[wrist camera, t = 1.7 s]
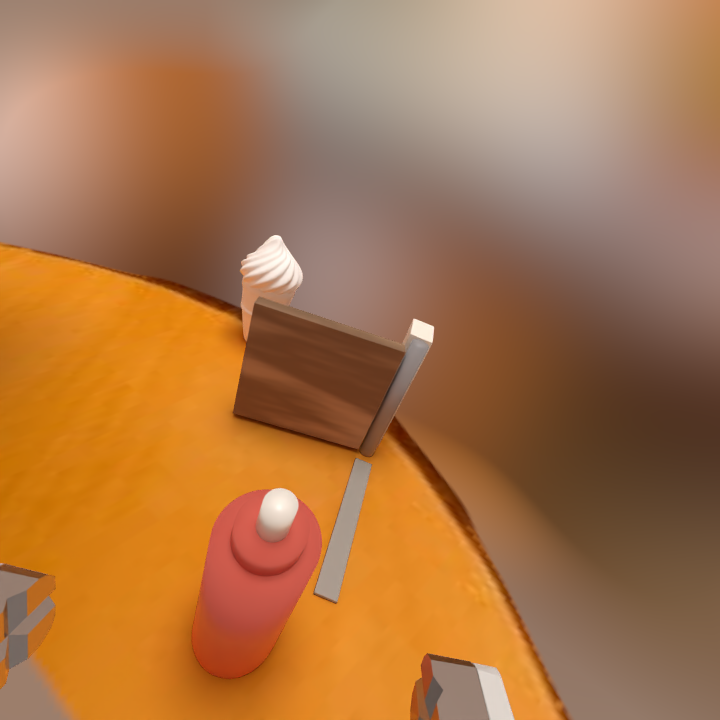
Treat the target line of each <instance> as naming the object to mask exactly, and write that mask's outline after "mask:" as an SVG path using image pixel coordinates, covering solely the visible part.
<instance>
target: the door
mask: <svg viewBox="0 0 720 720" xmlns="http://www.w3.org/2000/svg"><path fill="white" fill-rule="evenodd" d="M404 355H405V345H404V344H401V343H398V342H395V341H392V340H389V339H386V338H383V337H380V336H377V335H374V334H371V333H368V332H365V331H362V330H359V329H356V328H353V327H350V326H347V325H344V324H341V323H338V322H335V321H332V320H329V319H326V318H322V317H320V316H317V315H313V314H311V313H307V312H304V311H302V310H299V309H296V308H293V307H290V306H287V305H284V304H281V303H278V302H275V301H272V300H269V299H266V298H263V297H260V296H259V297H258V298H257V300H256V301H255V302H254V307H253V312H252V317H251V322H250V327H249V333H248V338H247V343H246V348H245V353H244V358H243V364H242V369H241V374H240V379H239V384H238V390H237V395H236V400H235V405H234V410H233V413H234V414H237V415H241V416H244V417H248V418H251V419H255V420H258V421H262V422H265V423H269V424H272V425H275V426H279V427H282V428H286V429H289V430H293V431H296V432H300V433H303V434H307V435H310V436H313V437H317V438H320V439H324V440H327V441H331V442H334V443H338V444H341V445H345V446H348V447H351V448H355V449H359V447H360V445H361V443H362V441H363V439H364V437H365V435H366V433H367V431H368V428H369V426H370V424H371V422H372V420H373V418H374V416H375V414H376V412H377V410H378V408H379V406H380V404H381V402H382V400H383V398H384V396H385V394H386V392H387V390H388V387H389V385H390V383H391V381H392V379H393V377H394V375H395V373H396V371H397V369H398V367H399V365H400V363H401V361H402V359H403V357H404Z"/></svg>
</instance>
